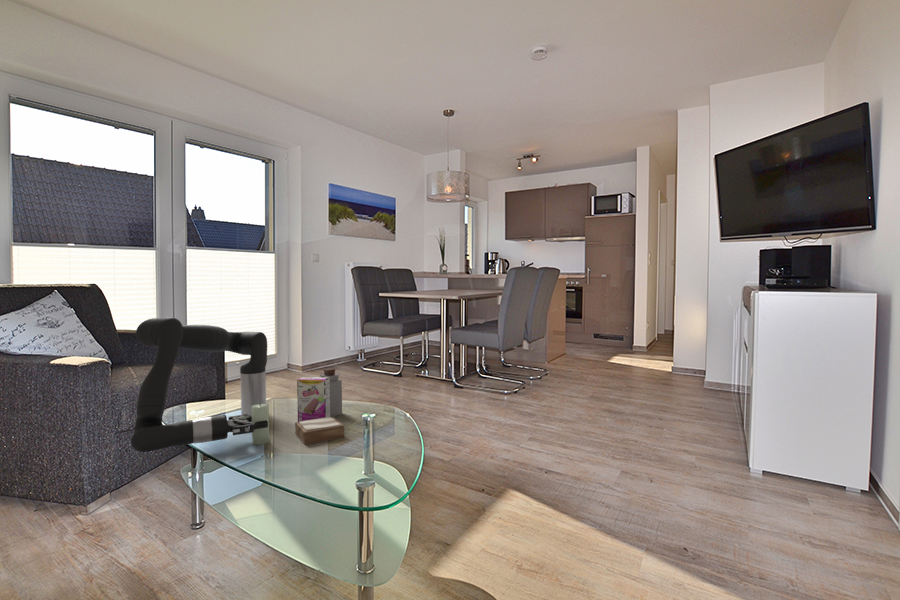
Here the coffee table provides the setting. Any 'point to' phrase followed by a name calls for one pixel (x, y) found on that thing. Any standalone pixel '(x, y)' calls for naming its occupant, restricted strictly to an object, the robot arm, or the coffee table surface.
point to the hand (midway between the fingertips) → (265, 420)
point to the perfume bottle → (334, 391)
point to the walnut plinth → (319, 430)
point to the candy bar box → (313, 398)
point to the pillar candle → (260, 414)
